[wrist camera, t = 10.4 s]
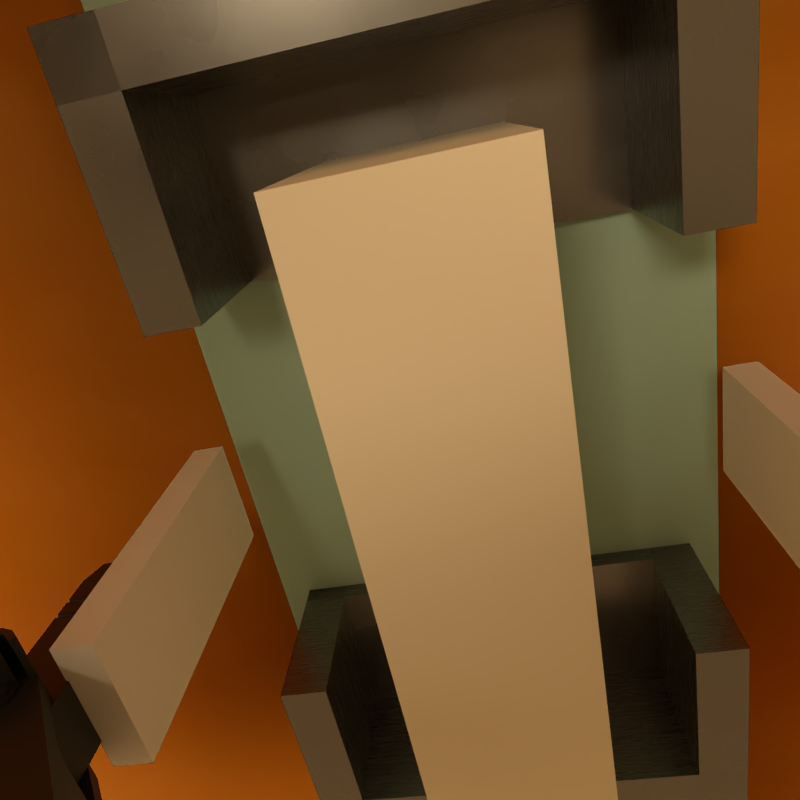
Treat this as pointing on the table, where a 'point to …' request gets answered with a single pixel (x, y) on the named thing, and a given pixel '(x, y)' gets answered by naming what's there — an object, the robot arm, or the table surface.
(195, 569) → the robot arm
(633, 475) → the mat
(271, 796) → the table surface
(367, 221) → the slat
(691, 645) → the cap
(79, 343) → the table surface
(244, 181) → the grey u-shaped bracket
